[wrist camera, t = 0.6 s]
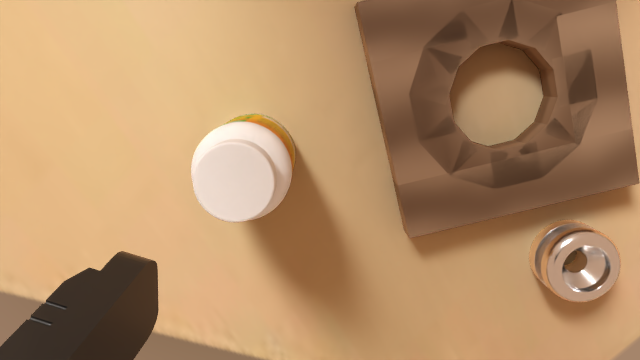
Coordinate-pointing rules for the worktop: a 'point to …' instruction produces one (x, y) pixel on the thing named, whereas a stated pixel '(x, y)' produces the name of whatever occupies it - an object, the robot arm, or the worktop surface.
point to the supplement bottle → (243, 168)
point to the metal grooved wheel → (575, 260)
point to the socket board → (530, 146)
